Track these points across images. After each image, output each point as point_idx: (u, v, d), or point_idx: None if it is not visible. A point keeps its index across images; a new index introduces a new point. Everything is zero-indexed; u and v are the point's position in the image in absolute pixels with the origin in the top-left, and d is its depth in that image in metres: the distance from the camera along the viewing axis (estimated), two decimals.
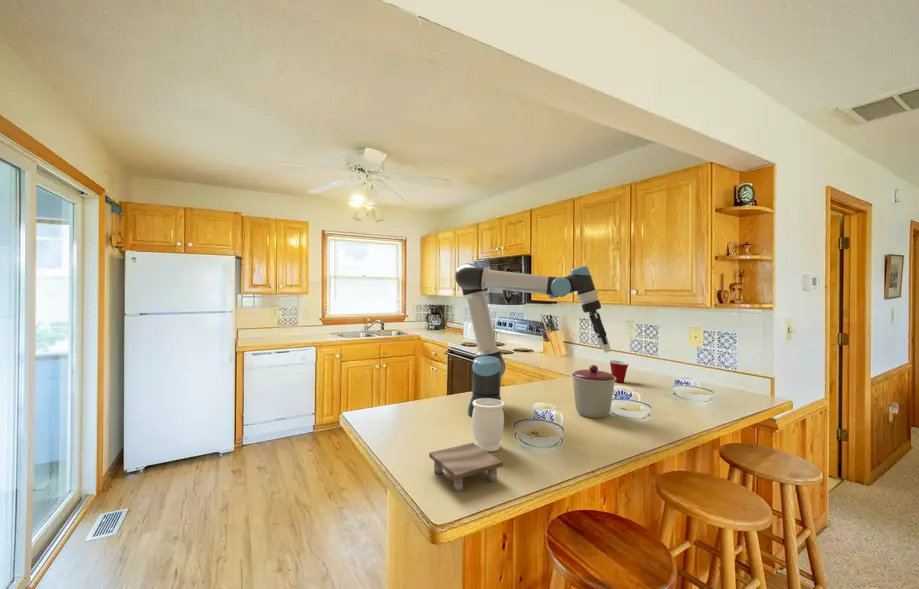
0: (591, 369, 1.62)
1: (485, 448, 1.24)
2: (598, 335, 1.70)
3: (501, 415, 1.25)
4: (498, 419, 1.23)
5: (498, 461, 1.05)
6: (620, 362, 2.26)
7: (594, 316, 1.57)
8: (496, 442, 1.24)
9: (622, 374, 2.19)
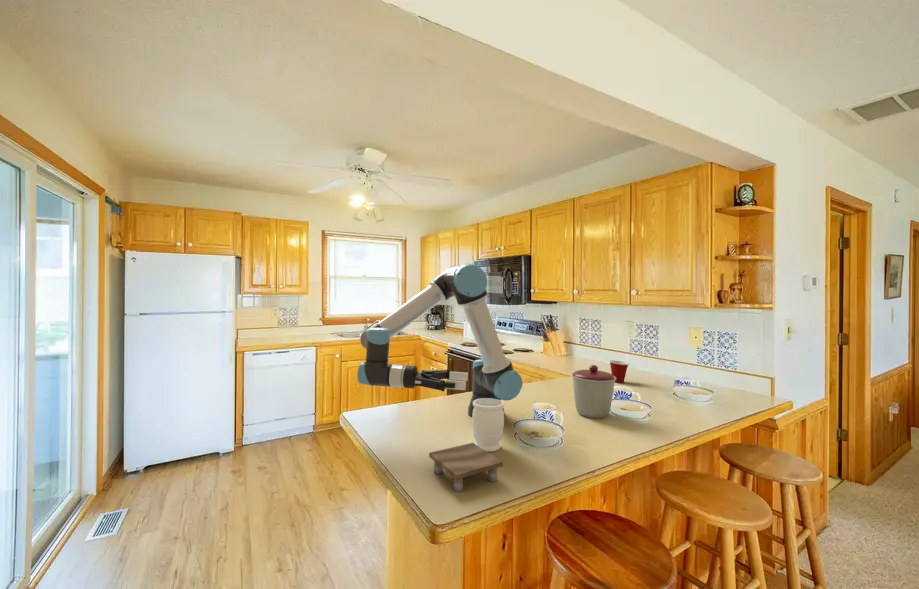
0: (591, 369, 1.62)
1: (485, 448, 1.24)
2: None
3: (501, 415, 1.25)
4: (498, 419, 1.23)
5: (498, 461, 1.05)
6: (620, 362, 2.26)
7: None
8: (496, 442, 1.24)
9: (622, 374, 2.19)
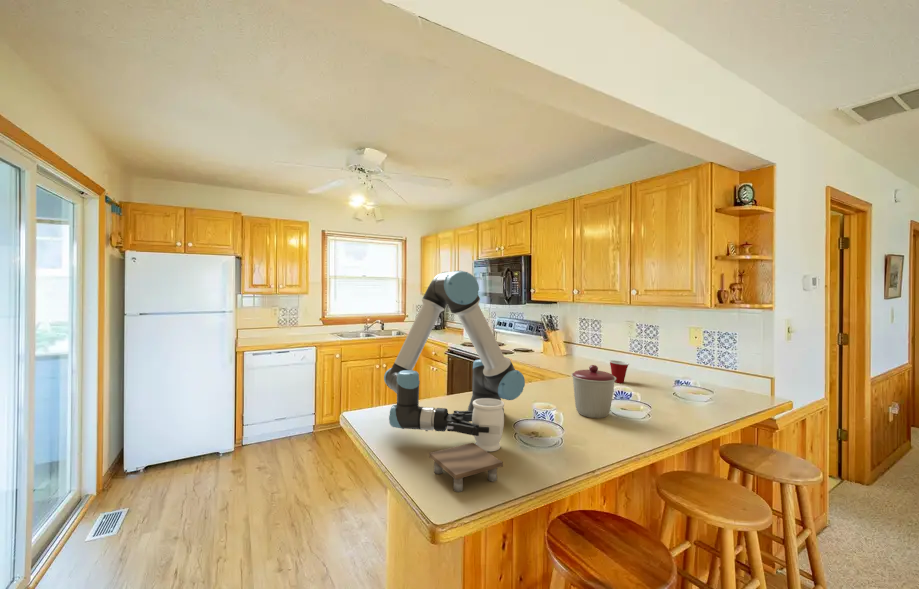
0: (591, 369, 1.62)
1: (485, 448, 1.24)
2: None
3: (501, 415, 1.25)
4: (498, 419, 1.23)
5: (498, 461, 1.05)
6: (620, 362, 2.26)
7: None
8: (496, 442, 1.24)
9: (622, 374, 2.19)
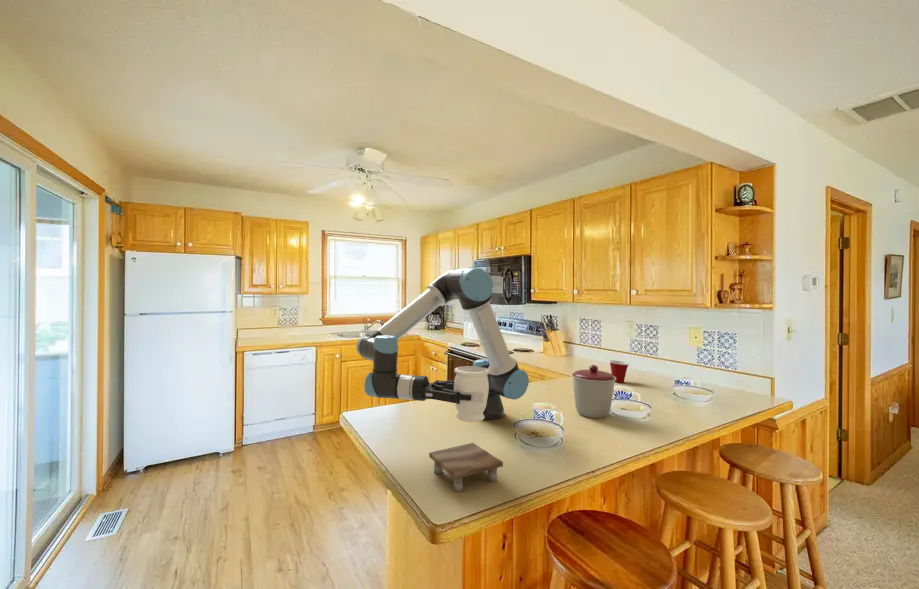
0: (591, 369, 1.62)
1: (467, 418, 1.13)
2: None
3: (485, 382, 1.14)
4: (481, 387, 1.13)
5: (498, 461, 1.05)
6: (620, 362, 2.26)
7: None
8: (479, 412, 1.14)
9: (622, 374, 2.19)
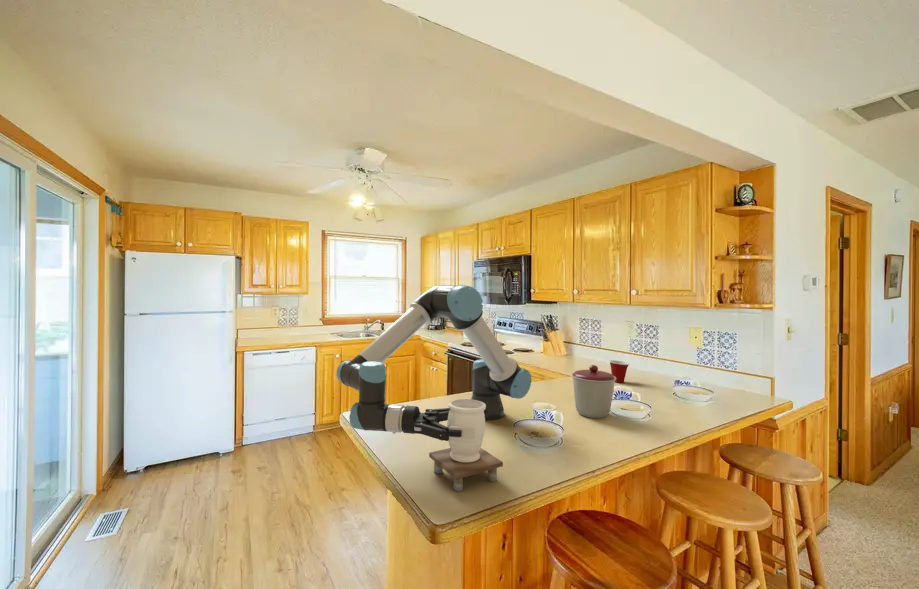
0: (591, 369, 1.62)
1: (461, 458, 1.04)
2: None
3: (481, 419, 1.05)
4: (477, 425, 1.03)
5: (498, 461, 1.05)
6: (620, 362, 2.26)
7: None
8: (475, 451, 1.05)
9: (622, 374, 2.19)
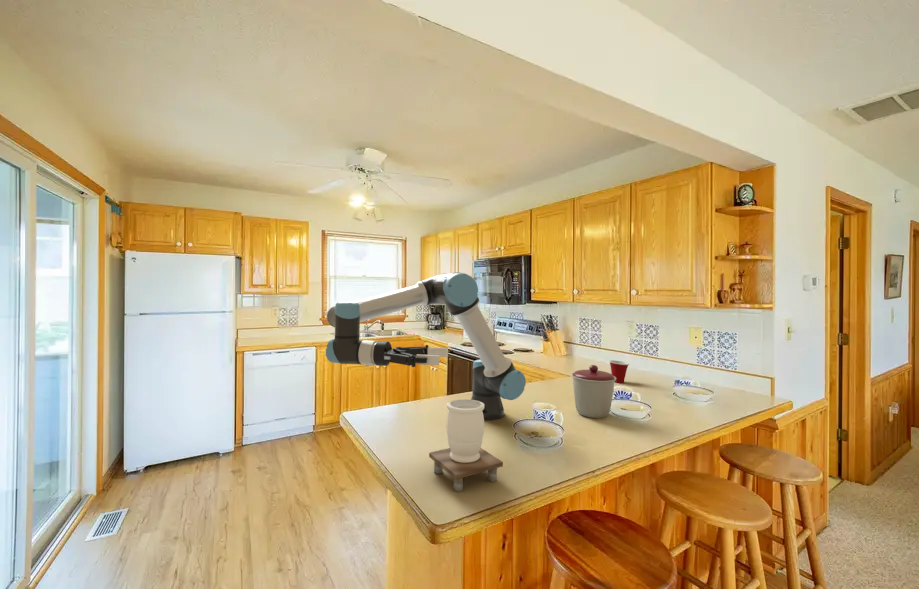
0: (591, 369, 1.62)
1: (461, 459, 1.04)
2: None
3: (480, 419, 1.05)
4: (476, 425, 1.03)
5: (498, 461, 1.05)
6: (620, 362, 2.26)
7: None
8: (474, 451, 1.04)
9: (622, 374, 2.19)
